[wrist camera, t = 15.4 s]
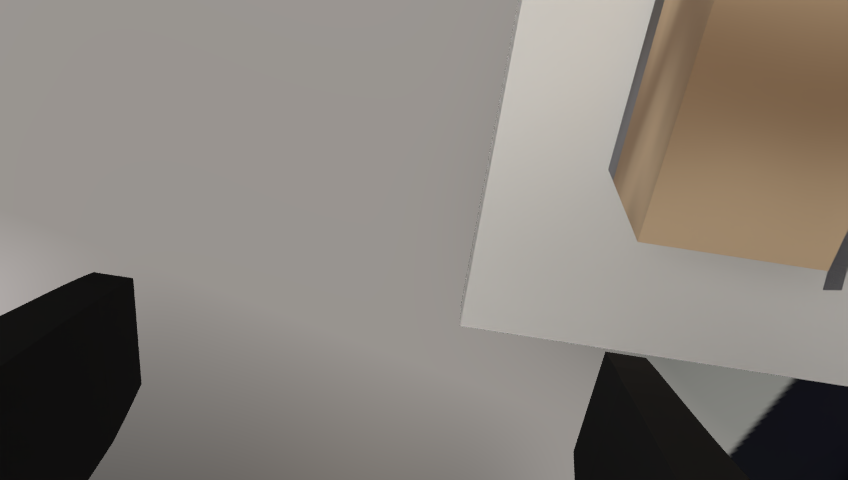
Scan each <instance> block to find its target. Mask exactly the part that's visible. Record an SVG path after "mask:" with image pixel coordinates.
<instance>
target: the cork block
mask: <svg viewBox="0 0 848 480" xmlns="http://www.w3.org/2000/svg"><path fill="white" fill-rule="evenodd" d="M608 170H609V173H610V175H611V178H612V180H613V182H614V185H615V187H616V190H617V192H618V195H619V197H620V200H621V202H622V205H623V207H624V210H625V212H626V214H627V217H628V219H629V222H630V224H631V227H632V229H633V232H634V234H635V237H636V239H637V242H642V243H648V244H655V245H661V246H668V247H674V248H681V249H687V250H694V251H700V252H707V253H713V254H720V255H726V256H733V257H739V258H746V259H752V260H759V261H765V262H772V263H778V264H785V265H791V266H798V267H804V268H811V269H817V270H824V271H829V269H830V266H831V264H832V262H833V260H834V258H835V256H836V254H837V252H838V250H839V248H840V245H841V243H842V241H843V239H844V237H845V235H846V233H847V231H848V0H655V3H654V6H653V10H652V13H651V17H650V21H649V24H648V28H647V31H646V35H645V39H644V42H643V46H642V49H641V53H640V57H639V60H638V64H637V67H636V71H635V75H634V78H633V82H632V85H631V89H630V93H629V96H628V100H627V103H626V107H625V111H624V114H623V118H622V121H621V125H620V129H619V132H618V136H617V139H616V143H615V147H614V150H613V154H612V157H611V161H610V164H609V168H608Z"/></svg>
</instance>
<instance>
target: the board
mask: <svg viewBox="0 0 848 480" xmlns="http://www.w3.org/2000/svg"><path fill="white" fill-rule="evenodd" d="M654 3H655V0H518V6H517V11H516V16H515V21H514V27H513V32H512V37H511V43H510V48H509V53H508V58H507V64H506V69H505V75H504V80H503V85H502V90H501V96H500V101H499V106H498V111H497V117H496V122H495V128H494V133H493V138H492V143H491V149H490V154H489V159H488V165H487V170H486V175H485V180H484V186H483V191H482V197H481V202H480V207H479V212H478V217H477V223H476V228H475V233H474V239H473V244H472V250H471V255H470V260H469V265H468V271H467V276H466V281H465V286H464V292H463V298H462V302H461V317H460V326H463V327H469V328H475V329H482V330H488V331H494V332H501V333H507V334H514V335H520V336H527V337H533V338H540V339H546V340H552V341H559V342H566V343H572V344H579V345H585V346H592V347H597V348H604V349H610V350H617V351H623V352H630V353H636V354H643V355H649V356H656V357H663V358H668V359H675V360H681V361H688V362H694V363H701V364H707V365H714V366H720V367H727V368H733V369H740V370H746V371H752V372H759V373H765V374H771V375H778V376H784V377H791V378H797V379H804V380H810V381H816V382H823V383H829V384H836V385H842V386H848V231H847V233H846V235H845V237H844V239H843V241H842V243H841V245H840V248H839V250H838V252H837V254H836V256H835V258H834V260H833V262H832V264H831V266H830V269H829V271H824V270H817V269H811V268H804V267H798V266H791V265H785V264H778V263H772V262H765V261H759V260H752V259H746V258H739V257H733V256H726V255H720V254H713V253H707V252H700V251H694V250H687V249H681V248H674V247H668V246H661V245H655V244H648V243H642V242H637V239H636V237H635V234H634V232H633V229H632V227H631V224H630V222H629V219H628V217H627V214H626V212H625V210H624V207H623V205H622V202H621V200H620V197H619V195H618V192H617V190H616V187H615V185H614V182H613V180H612V178H611V175H610V173H609V170H608V168H609V164H610V161H611V157H612V154H613V150H614V147H615V143H616V139H617V136H618V132H619V129H620V125H621V121H622V118H623V114H624V111H625V107H626V103H627V100H628V96H629V93H630V89H631V85H632V82H633V78H634V75H635V71H636V67H637V64H638V60H639V57H640V53H641V49H642V46H643V42H644V39H645V35H646V31H647V28H648V24H649V21H650V17H651V13H652V10H653V6H654Z"/></svg>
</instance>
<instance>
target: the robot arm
mask: <svg viewBox="0 0 848 480" xmlns="http://www.w3.org/2000/svg"><path fill="white" fill-rule="evenodd" d="M140 386H141V374H140V360H139V347H138V335H137V322H136V309H135V297H134V284H133V278H127V277H121V276H114V275H108V274H101V273H95V272H93V273H91V274H88V275H86V276H83V277H81V278H78V279H76V280H74V281H72V282H70V283H67V284H65V285H63V286H61V287H59V288H57V289H55V290H53V291H50V292H48V293H46V294H44V295H42V296H40V297H38V298H36V299H34V300H32V301H30V302H28V303H26V304H24V305H22V306H20V307H18V308H16V309H14V310H12V311H10V312H7V313H6V314H4V315H1V316H0V480H88V479H89V478H90V476H91V475H92V473H93V472H94V470H95V469H96V467H97V466H98V464H99V462H100V461H101V460H102V458H103V457H104V455H105V453H106V452H107V450H108V449H109V447H110V446H111V444H112V443H113V441H114V439H115V437H116V435H117V433H118V431H119V429H120V427H121V425H122V423H123V421H124V419H125V417H126V415H127V413H128V411H129V409H130V407H131V405H132V403H133V401H134V398H135V396H136V394H137V392H138V390H139V388H140ZM574 472H575V480H750V479H749V478H748V477H747V476H746V475H745V473H744V472H743V471H742V470H741V469H740V468H739V467H738V466H737V465H736V464H735V462H734V461H733V460H732V459H731V458H730V457H729V456H728V455H727V453H726V452H725V451H724V450H723V449H722V448H721V447H720V445H719V444H718V443H717V442H716V441H715V440H714V438H712V436H711V435H710V434H709V433H708V431H707V430H706V429H705V428H704V427H703V426H702V424H701V423H700V422H699V421H698V420H697V418H696V417H695V416H694V415H693V414H692V412H691V411H690V410H689V409H688V408H687V406H686V405H685V404H684V403H683V402H682V400H681V399H680V398H679V397H678V395H677V394H676V393H675V392H674V391H673V389H672V388H671V387H670V386H669V385H668V383H667V382H666V381H665V380H664V379H663V377H662V376H661V375H660V374H659V372H658V371H657V370H656V369H655V368H654V367H653V365H652V364H651V363H650V362H649V361H648V360H647V359H646V358H642V357H636V356H629V355H623V354H617V353H610V352H605V355H604V358H603V361H602V364H601V367H600V371H599V374H598V377H597V380H596V383H595V386H594V389H593V392H592V396H591V399H590V402H589V405H588V408H587V411H586V414H585V418H584V421H583V424H582V427H581V430H580V433H579V436H578V439H577V443H576V446H575V449H574Z"/></svg>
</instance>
